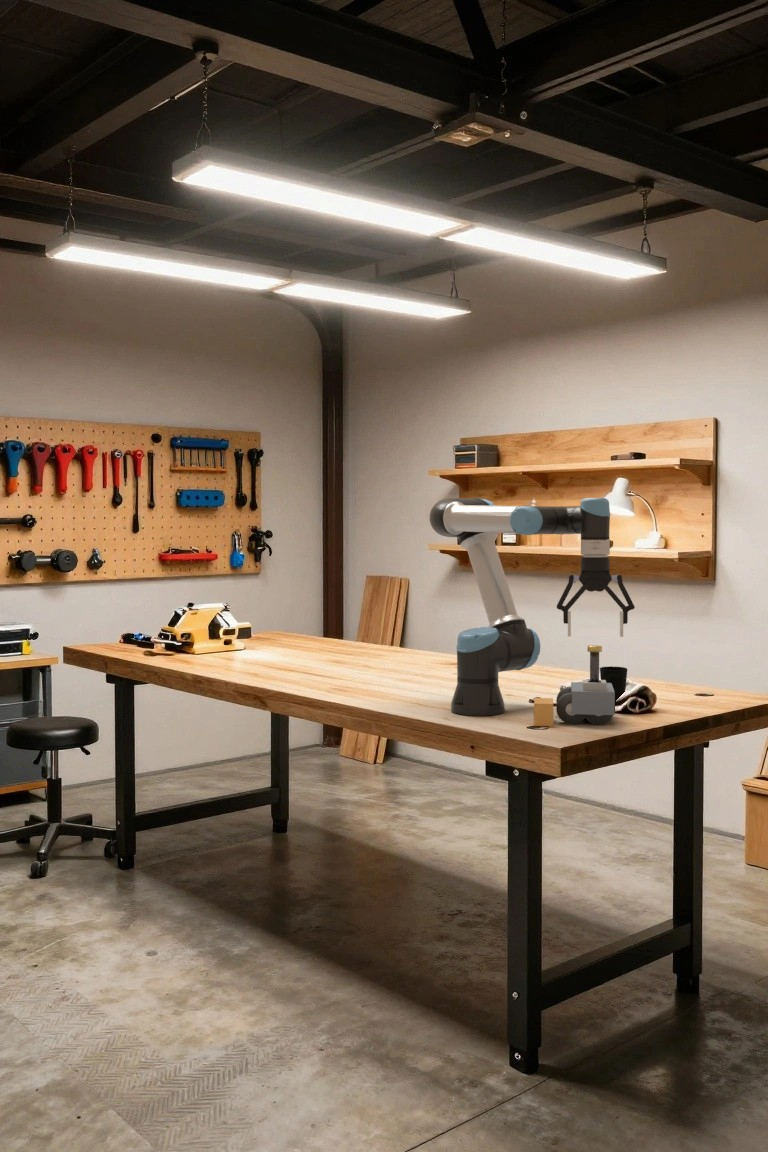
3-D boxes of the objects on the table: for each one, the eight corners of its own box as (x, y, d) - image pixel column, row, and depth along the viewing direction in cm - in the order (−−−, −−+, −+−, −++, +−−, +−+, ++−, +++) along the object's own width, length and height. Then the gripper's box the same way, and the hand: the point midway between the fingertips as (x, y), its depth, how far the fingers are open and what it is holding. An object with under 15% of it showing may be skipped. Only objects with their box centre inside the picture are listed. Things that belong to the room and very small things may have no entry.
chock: (534, 726, 271) (534, 703, 271) (534, 719, 280) (534, 697, 280) (553, 726, 270) (553, 703, 270) (552, 720, 279) (552, 698, 279)
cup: (623, 707, 296) (623, 666, 296) (630, 712, 289) (630, 670, 288) (596, 707, 296) (596, 666, 296) (603, 712, 289) (603, 670, 288)
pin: (587, 689, 273) (587, 646, 272) (587, 687, 276) (587, 645, 276) (602, 689, 272) (602, 647, 272) (601, 687, 276) (601, 645, 275)
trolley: (556, 725, 271) (556, 683, 271) (556, 713, 287) (556, 674, 287) (614, 726, 269) (614, 684, 268) (611, 715, 285) (611, 675, 284)
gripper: (547, 556, 271) (547, 637, 272) (644, 556, 267) (644, 637, 268) (547, 556, 278) (547, 634, 279) (642, 555, 274) (642, 635, 275)
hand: (595, 636), depth 273 cm, fingers open, 13 cm apart
